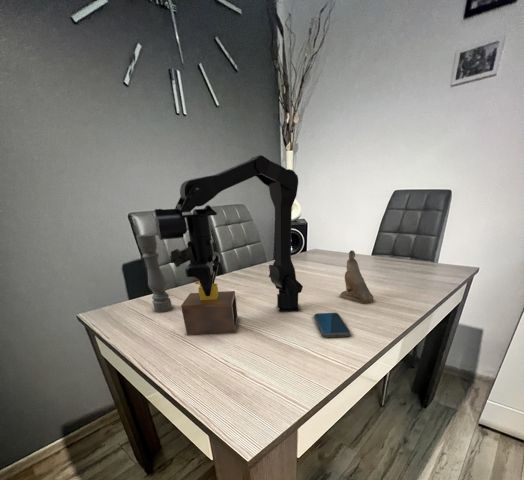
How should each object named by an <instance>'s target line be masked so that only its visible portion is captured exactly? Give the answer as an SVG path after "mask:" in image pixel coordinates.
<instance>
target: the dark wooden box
mask: <svg viewBox="0 0 524 480" xmlns="http://www.w3.org/2000/svg"><path fill="white" fill-rule="evenodd" d="M218 294H219V296H218V298H217V299H214V300H200V295H199V292H190V293H189V294H188V295H187V297H185V300H184V301H183V302H182V303H181V306H180V307H181V313H182V317H183V322H184V327H185V333H186V335H187V336H190V335H212V334H234V333H236V329H237V323H238V319H239V316H238V306H237V297H236V295H237V294H236V291H235V290H228V291H225V290H224V291H218Z"/></svg>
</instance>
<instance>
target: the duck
mask: <svg viewBox="0 0 524 480" xmlns="http://www.w3.org/2000/svg"><path fill="white" fill-rule="evenodd" d="M194 283H195V285H199V286H198V287H197V289H198V293H199V295H200V300H214V299H217V298H218V296H219V294H218V292H219V288H218V283H214V284H212V288H211V293H210V296H206V295H205V293H204V291H203V288H202V286H201V284H200V282H199V280H198V281H197V280H196V281H195V282H194Z"/></svg>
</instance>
